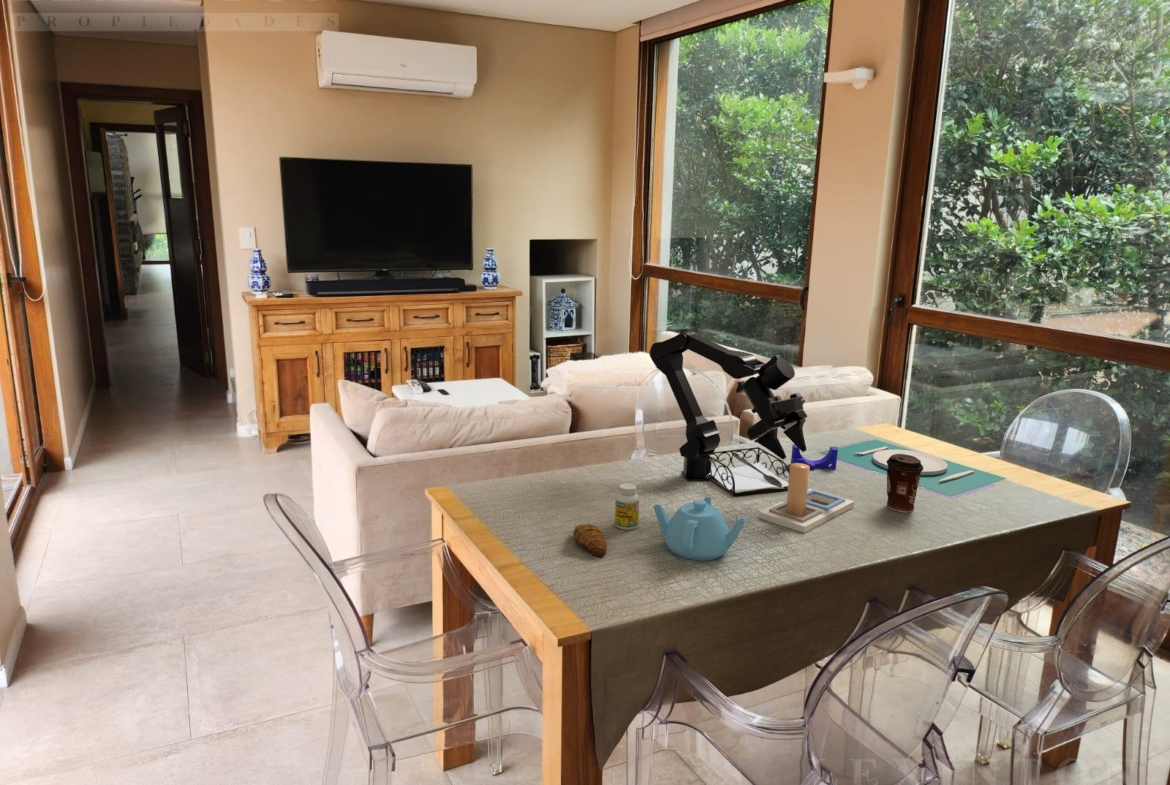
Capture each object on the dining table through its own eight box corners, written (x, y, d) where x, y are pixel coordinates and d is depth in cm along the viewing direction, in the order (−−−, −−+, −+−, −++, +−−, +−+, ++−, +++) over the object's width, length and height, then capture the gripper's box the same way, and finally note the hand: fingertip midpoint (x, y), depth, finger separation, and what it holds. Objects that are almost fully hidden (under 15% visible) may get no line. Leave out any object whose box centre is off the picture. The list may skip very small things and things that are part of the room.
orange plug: (789, 522, 190) (794, 469, 187) (782, 514, 195) (787, 463, 192) (807, 521, 191) (812, 469, 188) (800, 514, 195) (805, 462, 192)
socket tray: (804, 532, 184) (805, 524, 184) (758, 517, 192) (759, 509, 192) (853, 506, 201) (854, 498, 201) (809, 493, 209) (810, 486, 209)
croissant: (562, 536, 179) (563, 514, 178) (590, 532, 182) (591, 511, 180) (587, 561, 167) (587, 538, 166) (616, 556, 170) (618, 534, 168)
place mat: (812, 454, 245) (812, 447, 244) (874, 440, 262) (875, 433, 261) (951, 501, 209) (952, 493, 209) (1013, 481, 226) (1014, 473, 226)
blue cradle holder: (793, 469, 229) (795, 449, 228) (790, 464, 233) (792, 444, 232) (836, 472, 228) (838, 451, 226) (833, 466, 232) (835, 446, 231)
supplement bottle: (640, 523, 187) (642, 483, 185) (634, 532, 182) (636, 491, 180) (618, 520, 188) (619, 480, 186) (611, 528, 183) (613, 488, 181)
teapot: (647, 539, 178) (650, 493, 176) (706, 530, 184) (709, 485, 182) (683, 569, 165) (686, 519, 162) (745, 557, 171) (749, 509, 168)
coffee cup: (874, 507, 202) (880, 457, 198) (888, 499, 207) (894, 450, 204) (909, 517, 196) (916, 465, 193) (923, 508, 202) (929, 458, 199)
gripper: (764, 388, 189) (798, 446, 185) (806, 377, 202) (839, 432, 198) (732, 411, 196) (764, 468, 192) (774, 399, 209) (805, 453, 205)
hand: (794, 454), depth 197 cm, fingers open, 9 cm apart
